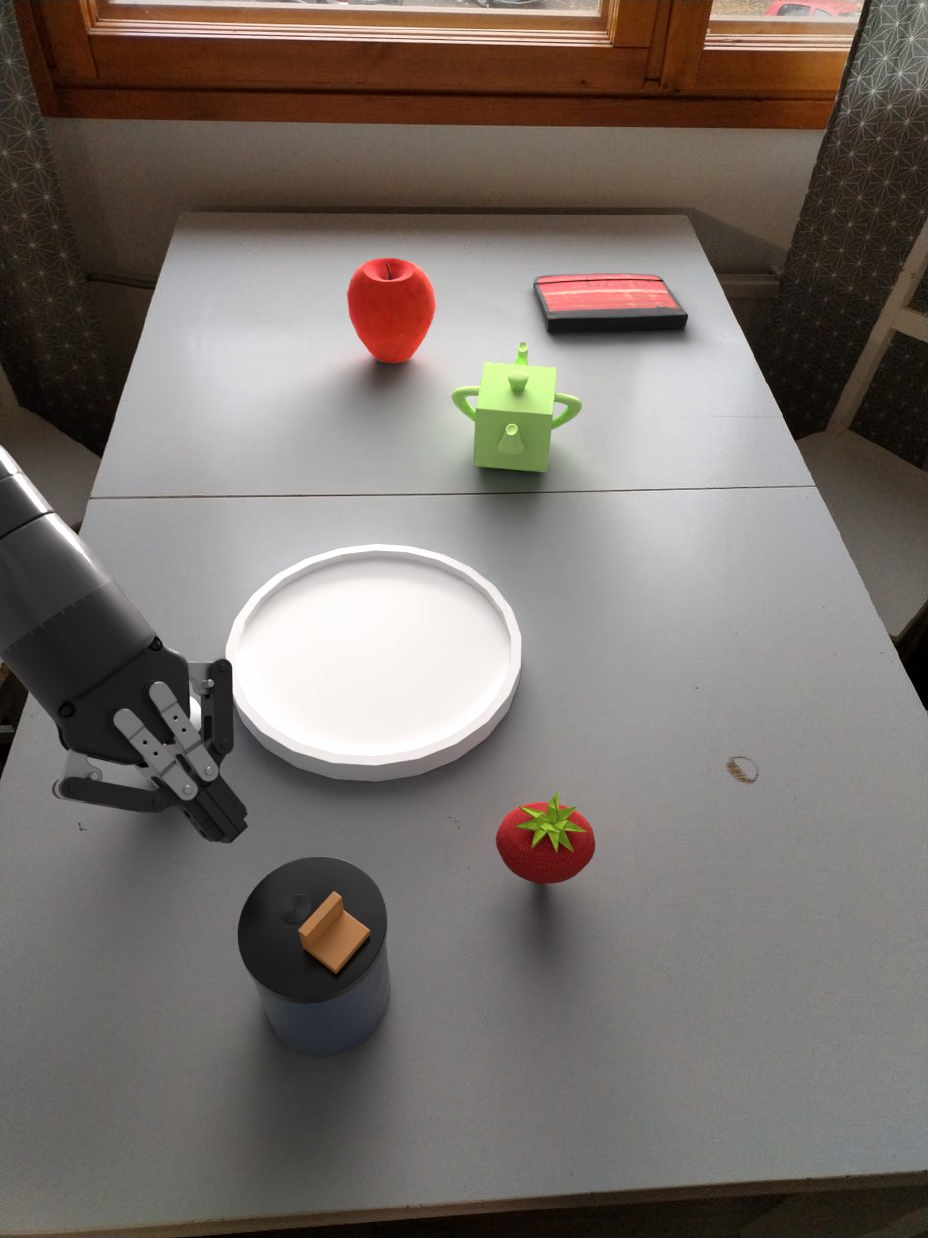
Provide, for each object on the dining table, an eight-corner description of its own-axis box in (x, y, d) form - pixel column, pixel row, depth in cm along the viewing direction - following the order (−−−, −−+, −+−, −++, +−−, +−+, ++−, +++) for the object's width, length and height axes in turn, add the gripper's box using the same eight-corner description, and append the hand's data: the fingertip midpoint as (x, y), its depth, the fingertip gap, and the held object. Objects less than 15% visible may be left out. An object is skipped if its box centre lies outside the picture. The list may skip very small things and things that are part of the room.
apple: (431, 332, 130) (430, 241, 120) (440, 375, 122) (440, 281, 112) (349, 336, 129) (342, 244, 119) (353, 380, 121) (346, 285, 111)
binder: (689, 313, 131) (548, 318, 129) (686, 328, 132) (546, 333, 131) (660, 269, 142) (530, 272, 140) (658, 283, 144) (529, 287, 142)
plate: (168, 667, 85) (162, 650, 83) (375, 526, 100) (374, 509, 98) (377, 842, 73) (375, 826, 71) (578, 651, 88) (581, 634, 86)
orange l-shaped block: (302, 947, 55) (297, 930, 54) (336, 908, 57) (333, 890, 55) (336, 975, 54) (332, 958, 52) (370, 934, 56) (368, 917, 54)
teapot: (518, 406, 117) (524, 331, 110) (594, 452, 111) (606, 376, 103) (430, 450, 110) (430, 374, 102) (506, 503, 103) (512, 425, 96)
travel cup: (234, 1002, 64) (205, 936, 56) (324, 904, 69) (309, 830, 61) (331, 1089, 60) (315, 1030, 52) (419, 977, 65) (416, 909, 57)
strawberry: (492, 840, 73) (499, 771, 66) (584, 844, 73) (601, 775, 66) (491, 908, 69) (498, 842, 62) (589, 912, 69) (606, 847, 62)
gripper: (-44, 671, 45) (171, 921, 49) (163, 536, 52) (335, 762, 56) (-61, 688, 51) (132, 910, 55) (127, 564, 58) (285, 767, 62)
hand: (235, 834), depth 56 cm, fingers closed
